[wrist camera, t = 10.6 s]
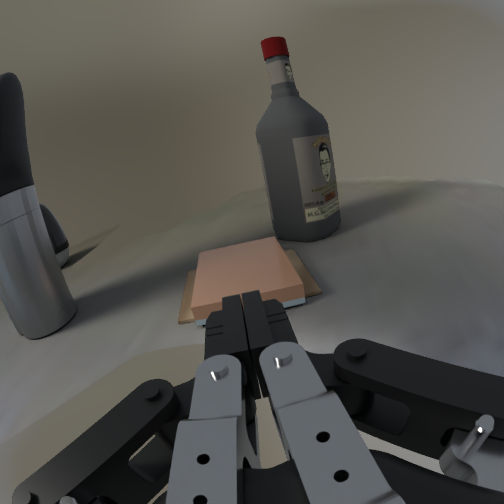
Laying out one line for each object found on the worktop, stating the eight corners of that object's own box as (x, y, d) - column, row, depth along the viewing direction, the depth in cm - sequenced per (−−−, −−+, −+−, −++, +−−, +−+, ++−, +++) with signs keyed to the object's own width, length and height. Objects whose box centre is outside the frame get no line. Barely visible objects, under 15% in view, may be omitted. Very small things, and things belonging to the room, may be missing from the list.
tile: (190, 307, 25) (199, 252, 38) (196, 326, 26) (203, 266, 39) (303, 283, 25) (274, 236, 38) (305, 302, 26) (276, 250, 39)
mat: (178, 324, 27) (177, 321, 27) (189, 273, 38) (188, 271, 38) (321, 293, 27) (321, 290, 27) (292, 250, 39) (292, 248, 38)
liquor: (267, 239, 45) (229, 46, 34) (297, 220, 51) (266, 53, 40) (320, 244, 39) (281, 24, 28) (345, 223, 45) (314, 38, 34)
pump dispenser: (50, 263, 60) (31, 205, 54) (81, 254, 60) (62, 193, 55) (29, 280, 50) (7, 216, 45) (61, 272, 50) (38, 202, 45)
